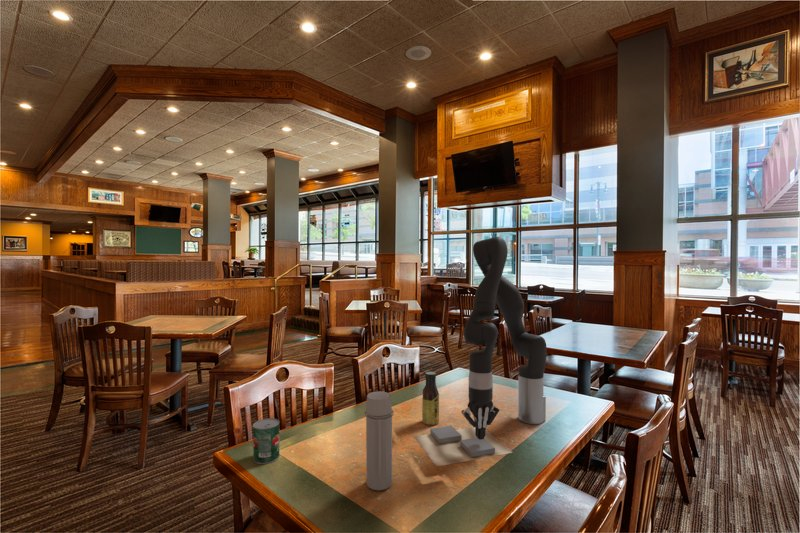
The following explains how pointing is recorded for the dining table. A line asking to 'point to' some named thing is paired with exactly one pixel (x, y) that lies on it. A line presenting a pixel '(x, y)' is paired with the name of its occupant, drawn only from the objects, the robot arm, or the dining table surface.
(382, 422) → the water bottle
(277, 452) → the canned tomato
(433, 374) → the sauce bottle
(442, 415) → the dining table surface
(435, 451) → the white flat sheet
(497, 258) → the robot arm
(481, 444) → the slate tile
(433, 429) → the slate tile
